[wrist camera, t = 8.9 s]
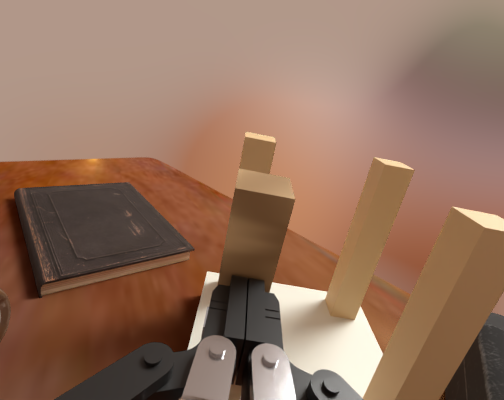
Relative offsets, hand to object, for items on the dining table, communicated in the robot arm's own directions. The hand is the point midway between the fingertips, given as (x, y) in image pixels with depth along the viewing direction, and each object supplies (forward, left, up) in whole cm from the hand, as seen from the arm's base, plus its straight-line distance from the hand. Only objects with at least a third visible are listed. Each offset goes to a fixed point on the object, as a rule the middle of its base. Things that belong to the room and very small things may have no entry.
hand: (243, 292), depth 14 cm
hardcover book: (-31, +2, -14) cm, 34 cm away
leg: (-1, +1, -10) cm, 10 cm away
